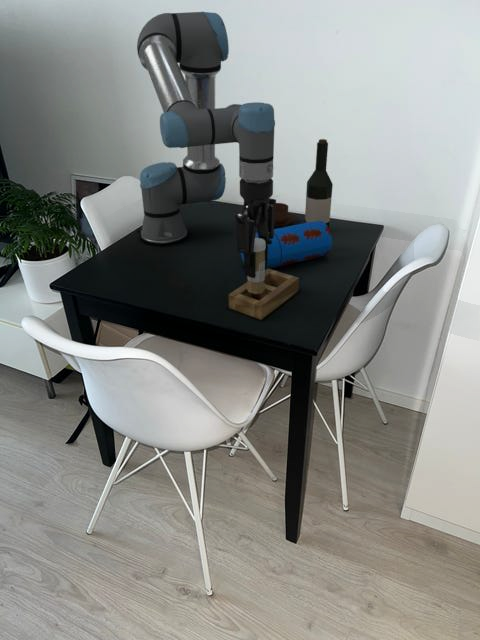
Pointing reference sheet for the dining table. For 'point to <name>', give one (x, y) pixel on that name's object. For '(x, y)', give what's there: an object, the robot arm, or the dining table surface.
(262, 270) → the spice jar
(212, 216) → the dining table surface
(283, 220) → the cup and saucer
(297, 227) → the thermos
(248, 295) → the holder
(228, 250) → the dining table surface
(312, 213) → the wine bottle
